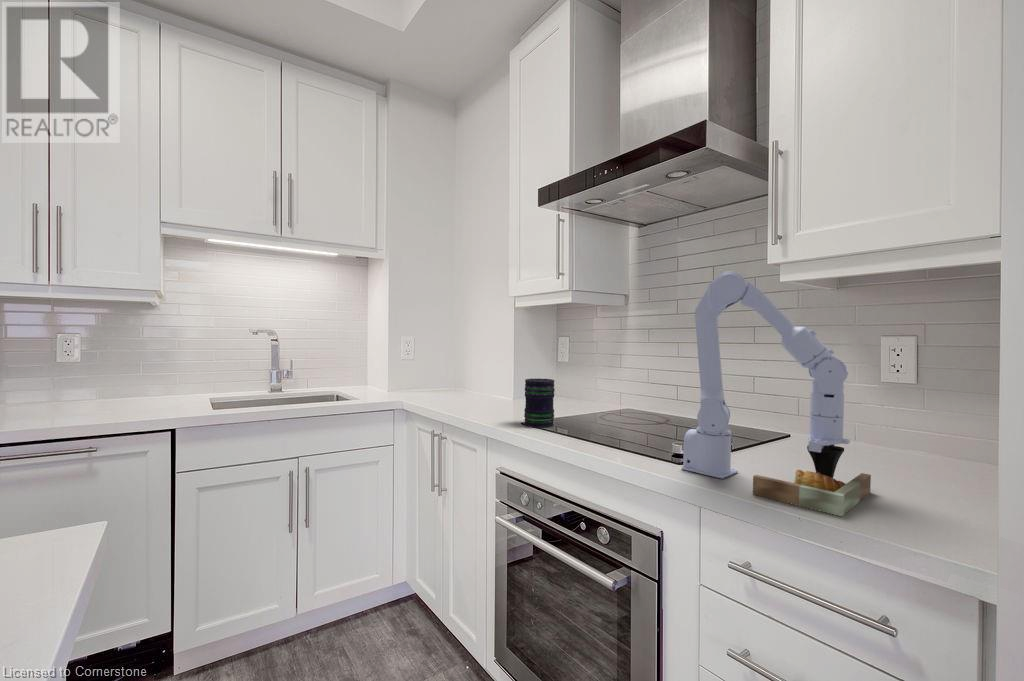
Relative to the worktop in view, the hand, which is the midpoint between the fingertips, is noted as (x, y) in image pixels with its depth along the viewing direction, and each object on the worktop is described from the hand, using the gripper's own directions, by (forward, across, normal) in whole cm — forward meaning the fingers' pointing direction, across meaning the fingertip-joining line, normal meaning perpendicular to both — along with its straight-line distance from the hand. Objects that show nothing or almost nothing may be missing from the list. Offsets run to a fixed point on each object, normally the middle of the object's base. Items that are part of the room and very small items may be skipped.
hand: (824, 481), depth 98 cm
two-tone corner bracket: (+1, -6, 0) cm, 6 cm away
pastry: (+1, -4, 0) cm, 4 cm away
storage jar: (+1, -1, +82) cm, 82 cm away
